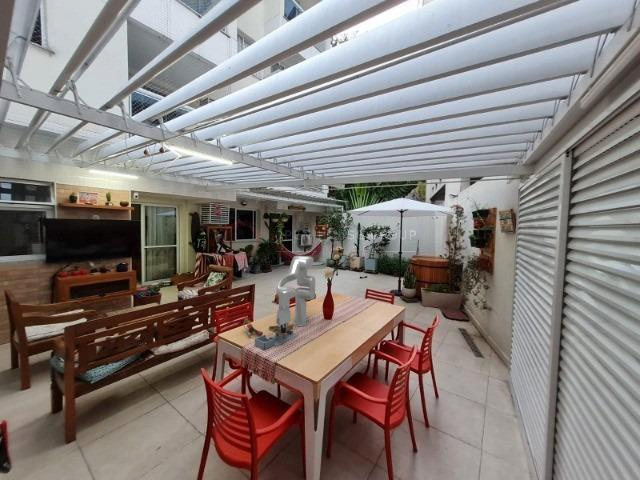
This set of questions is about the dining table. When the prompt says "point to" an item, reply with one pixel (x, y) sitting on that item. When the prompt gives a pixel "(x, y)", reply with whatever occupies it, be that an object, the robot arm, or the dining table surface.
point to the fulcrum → (283, 337)
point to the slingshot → (251, 328)
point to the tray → (264, 342)
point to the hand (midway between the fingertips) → (283, 332)
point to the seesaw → (279, 329)
